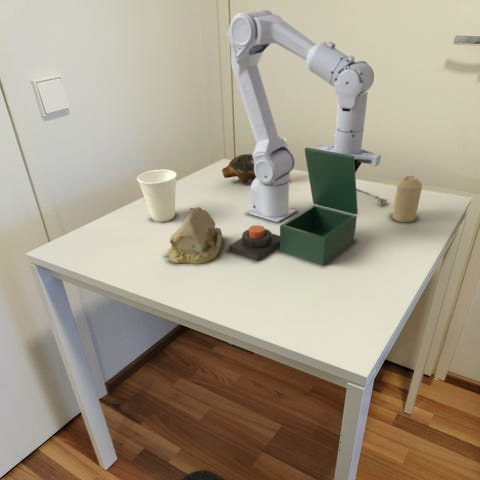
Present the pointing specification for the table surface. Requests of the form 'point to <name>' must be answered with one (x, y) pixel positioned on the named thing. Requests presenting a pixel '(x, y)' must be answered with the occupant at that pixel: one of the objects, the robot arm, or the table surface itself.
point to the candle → (407, 199)
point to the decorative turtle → (240, 168)
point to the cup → (159, 193)
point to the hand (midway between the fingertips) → (343, 191)
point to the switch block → (255, 245)
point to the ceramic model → (195, 239)
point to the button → (256, 232)
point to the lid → (332, 180)
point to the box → (317, 234)
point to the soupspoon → (374, 196)
